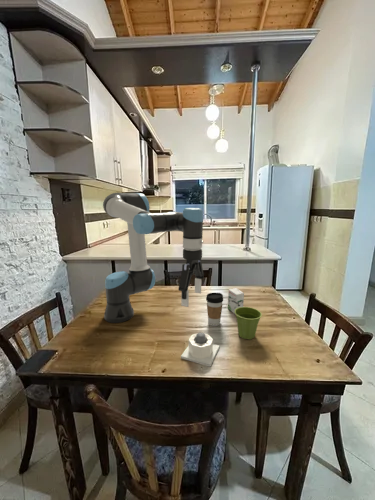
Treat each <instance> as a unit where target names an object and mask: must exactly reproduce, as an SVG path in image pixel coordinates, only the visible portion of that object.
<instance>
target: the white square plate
mask: <svg viewBox="0 0 375 500" xmlns="http://www.w3.org/2000/svg"><path fill="white" fill-rule="evenodd" d="M196 334H197V335H196V343H198V344H204V343H205V334H206V333H205V332H204V333H203V332H197V333H196ZM219 350H220V345H217V344H214V343H213V352H212V354H211V355H210V357H206V358H203V359H200V358H196V357H193V356H192V355H191V354H190V352H189V344H188V346H187V347H186V349H185V350H184V351H183V352H182V354H181V355H180V359H182V360H184V361H185V360H186V361H190V362H192V363H197V364H200V365H203V366H207V367H211V366H212V364H213V362H214V360H215V358H216V356H217V354H218V351H219Z"/></svg>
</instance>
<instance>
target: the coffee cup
mask: <svg viewBox="0 0 375 500" xmlns="http://www.w3.org/2000/svg"><path fill="white" fill-rule="evenodd" d="M205 297H206V298H205V299H206V310H207V319H208V320H207V323H208V324H209V325H210V326H213V327H214V326H219V325H221V318H222V312H223V302H224V295H223V294H222V293H220V292H210V293H207V294H206V296H205Z"/></svg>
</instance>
